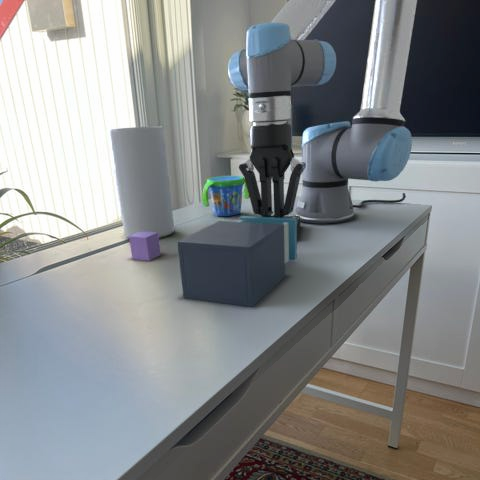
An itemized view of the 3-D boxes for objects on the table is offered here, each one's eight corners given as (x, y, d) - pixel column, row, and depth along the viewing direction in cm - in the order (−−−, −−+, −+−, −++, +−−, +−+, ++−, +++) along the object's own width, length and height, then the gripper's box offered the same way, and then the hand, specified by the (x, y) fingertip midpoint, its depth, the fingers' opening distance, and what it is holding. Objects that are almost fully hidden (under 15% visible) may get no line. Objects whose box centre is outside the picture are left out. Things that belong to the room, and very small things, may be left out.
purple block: (144, 253, 105) (141, 231, 103) (161, 254, 103) (158, 232, 101) (132, 259, 102) (128, 236, 100) (149, 260, 100) (146, 237, 98)
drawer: (253, 247, 102) (252, 210, 98) (305, 251, 97) (305, 212, 94) (212, 275, 86) (209, 232, 83) (271, 281, 82) (269, 236, 79)
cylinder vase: (161, 225, 129) (149, 126, 119) (183, 233, 119) (171, 126, 109) (117, 234, 123) (100, 130, 113) (136, 243, 113) (119, 130, 103)
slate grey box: (223, 270, 91) (219, 220, 87) (285, 276, 86) (284, 224, 82) (183, 298, 79) (176, 241, 75) (252, 307, 74) (249, 247, 70)
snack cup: (240, 207, 146) (238, 173, 141) (260, 212, 138) (259, 175, 133) (195, 216, 138) (191, 179, 134) (213, 221, 130) (210, 183, 126)
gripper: (229, 126, 86) (237, 252, 96) (298, 123, 81) (299, 256, 91) (246, 123, 93) (252, 242, 102) (311, 120, 87) (310, 246, 97)
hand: (274, 249), depth 97 cm, fingers closed
